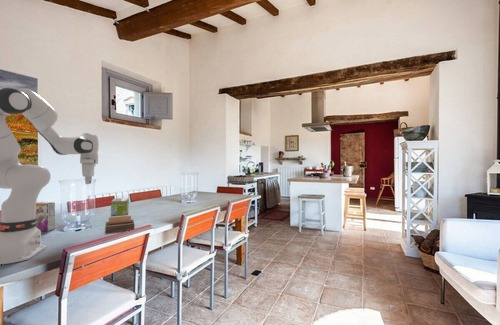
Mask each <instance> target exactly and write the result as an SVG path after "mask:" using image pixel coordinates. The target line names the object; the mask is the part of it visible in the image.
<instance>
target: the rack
mask: <svg viewBox="0 0 500 325" xmlns="http://www.w3.org/2000/svg"><path fill="white" fill-rule="evenodd" d="M127 229H129V230H127ZM131 229H133V230H135V222H134V219H132V218H131V222H121V223H111V224H109V221H106V222H105V227H104V230H105V231H104V233H106V232H107V233H114V232H115V231H116V232H122V231H121V230H125V231H131ZM107 233H106V234H107Z"/></svg>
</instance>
